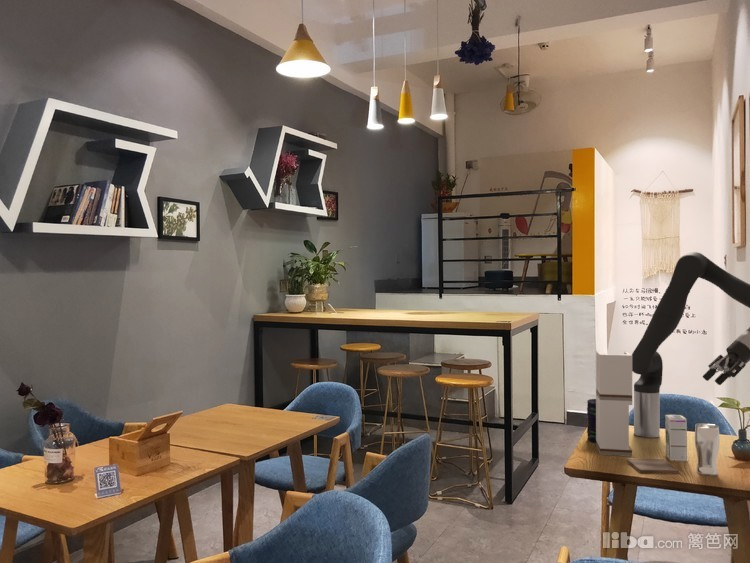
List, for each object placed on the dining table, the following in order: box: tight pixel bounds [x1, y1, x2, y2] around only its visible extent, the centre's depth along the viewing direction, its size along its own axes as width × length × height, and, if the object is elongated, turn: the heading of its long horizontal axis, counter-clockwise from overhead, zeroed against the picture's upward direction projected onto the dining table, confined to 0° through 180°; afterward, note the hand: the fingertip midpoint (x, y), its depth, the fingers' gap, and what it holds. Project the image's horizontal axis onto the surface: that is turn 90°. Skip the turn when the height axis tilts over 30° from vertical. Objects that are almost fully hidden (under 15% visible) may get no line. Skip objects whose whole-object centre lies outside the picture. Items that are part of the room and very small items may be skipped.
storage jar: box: [586, 398, 596, 444], centre depth 234 cm, size 10×10×15 cm
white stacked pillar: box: [595, 350, 633, 457], centre depth 221 cm, size 11×11×35 cm
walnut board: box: [626, 458, 680, 474], centre depth 202 cm, size 12×12×1 cm
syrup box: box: [664, 414, 688, 462], centre depth 211 cm, size 6×6×14 cm
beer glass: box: [694, 422, 720, 477], centre depth 196 cm, size 7×7×15 cm
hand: (710, 381), depth 211 cm, fingers open, 8 cm apart
